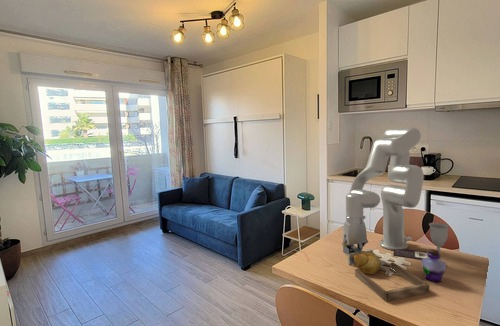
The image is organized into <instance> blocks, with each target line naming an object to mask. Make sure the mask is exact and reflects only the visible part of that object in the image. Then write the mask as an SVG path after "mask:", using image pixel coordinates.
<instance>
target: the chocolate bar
mask: <svg viewBox="0 0 500 326" xmlns="http://www.w3.org/2000/svg"><path fill="white" fill-rule="evenodd" d="M427 252H428V251H422V250H416V249H409V248H407V249H404V250H393V255H392V256H394V257H397V258H398V257H399V258H405V259H413V260H418V261H419V260H420V261H422V260H421V259H423V258H429V257H428V256H427Z"/></svg>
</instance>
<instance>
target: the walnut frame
mask: <svg viewBox="0 0 500 326" xmlns="http://www.w3.org/2000/svg"><path fill="white" fill-rule="evenodd" d="M391 268H392V269H394V270H395V271H396V272H397V273H398V274H397V273H396V274H397V275H399V277H401V278H403V279H405V280H406V281H407V282H409V283H411V284H412V285H410V286H405V287H400V288H395V289H391V290H385V289H384V288H383V287H382V286H380V285H379V284H378V283H377V282H375V281H374V280H373V279H371V278H370V277H369V276H367V275H366V274H365V273H363V272H361V271H360V270H359V269H358V268H355V269H354V277H355V278H356V279H358V280H359V281H360V282H361V283H363V284H364V286H366V287H368V288H369V289H370V290H371V291H372V292H374V293H375V294H376V295H377V296H379V298H381V299H382V301H384V302H386V303H387V302H391V301H394V300H401V299H405V298H409V297H412V296H418V295H423V294H427V293H430V284H429V283H427V282H426V281H424V280H423V279H422V278H420V277H418V276H416V275H414V274H413V273H411V272H409V271H408V270H406V269H405V268H403V267H402V266H400V265H398V264H396V263H395V262H390V269H391Z"/></svg>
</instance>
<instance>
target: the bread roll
mask: <svg viewBox="0 0 500 326" xmlns="http://www.w3.org/2000/svg"><path fill="white" fill-rule="evenodd" d="M354 261H355V263H356V264H355V265H356V269H359V270H360V271H361V272H362V273H364V274H365V275H366V274H367V275H375V274H377V273H378V272H379V271H380V269H381V260H380V257H379V256H378V255H377V254H376V253H375V252H374V251H373V252H363V253H361V254H356V255H355V256H354Z"/></svg>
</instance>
